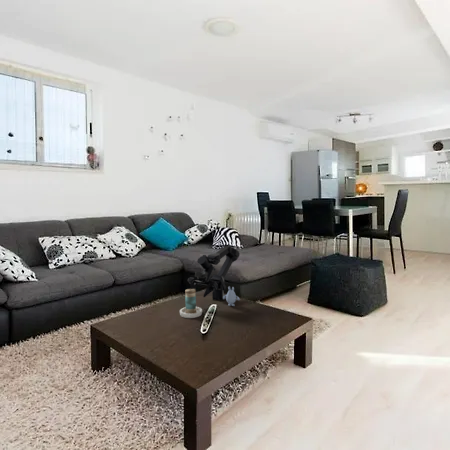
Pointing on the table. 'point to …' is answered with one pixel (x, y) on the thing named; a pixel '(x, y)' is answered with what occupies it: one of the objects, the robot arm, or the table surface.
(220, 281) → the robot arm
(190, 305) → the disc
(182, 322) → the table surface
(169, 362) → the table surface
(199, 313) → the ceramic dish
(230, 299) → the toy figure
